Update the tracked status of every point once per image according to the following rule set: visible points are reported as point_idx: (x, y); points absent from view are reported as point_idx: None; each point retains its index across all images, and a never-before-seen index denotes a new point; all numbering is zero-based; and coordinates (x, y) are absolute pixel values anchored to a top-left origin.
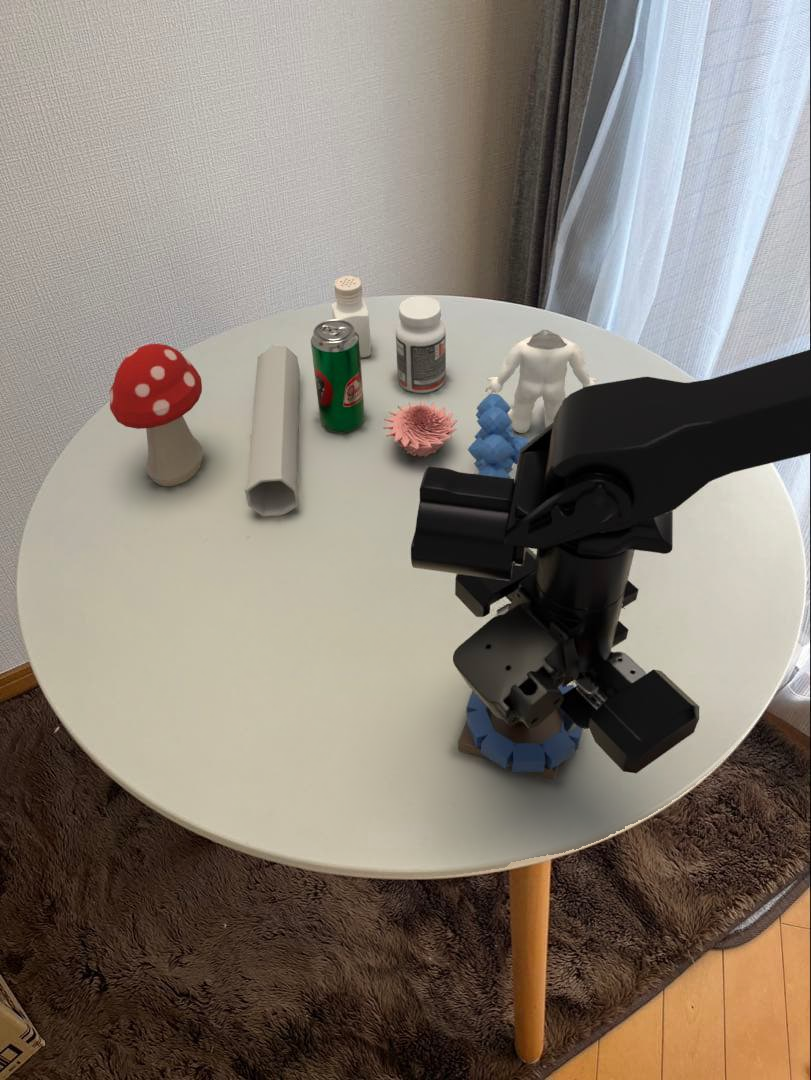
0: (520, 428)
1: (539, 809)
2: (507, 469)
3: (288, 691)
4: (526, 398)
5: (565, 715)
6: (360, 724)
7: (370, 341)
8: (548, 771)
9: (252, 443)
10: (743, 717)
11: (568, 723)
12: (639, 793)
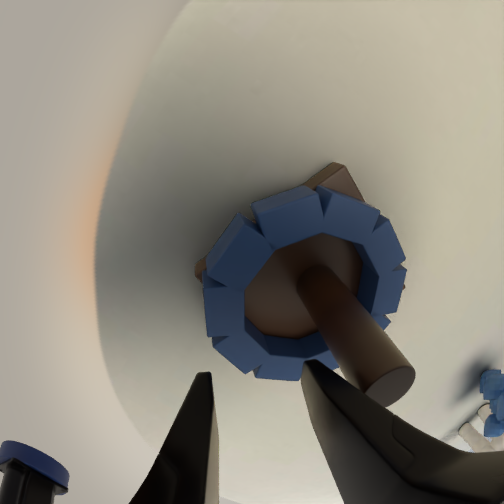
0: (484, 410)
1: (162, 211)
2: (496, 410)
3: (500, 60)
4: None
5: (201, 439)
6: (440, 80)
7: None
8: (204, 265)
9: None
10: None
11: (188, 416)
12: (119, 344)
